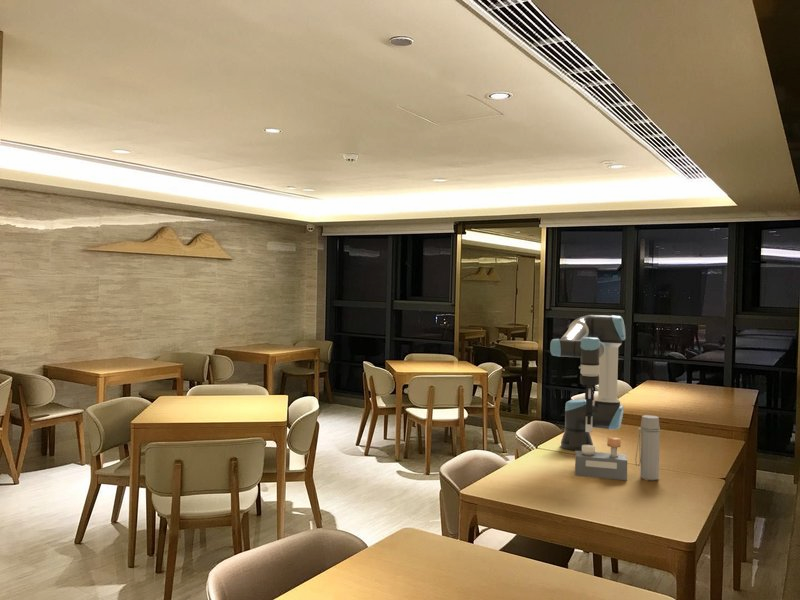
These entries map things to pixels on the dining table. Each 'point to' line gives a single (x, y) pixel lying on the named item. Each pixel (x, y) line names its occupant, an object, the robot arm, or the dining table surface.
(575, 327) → the robot arm
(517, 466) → the dining table surface
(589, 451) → the knob
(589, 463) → the console
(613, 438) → the knob
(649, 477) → the water bottle
